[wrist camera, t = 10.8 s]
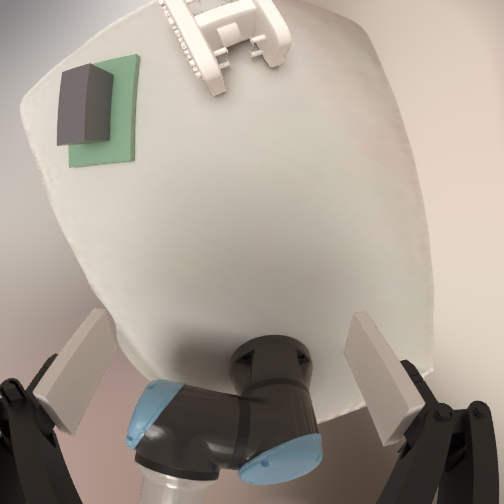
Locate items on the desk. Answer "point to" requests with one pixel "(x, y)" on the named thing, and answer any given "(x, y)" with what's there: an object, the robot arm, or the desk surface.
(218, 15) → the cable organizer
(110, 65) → the board
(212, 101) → the desk surface
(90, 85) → the block
